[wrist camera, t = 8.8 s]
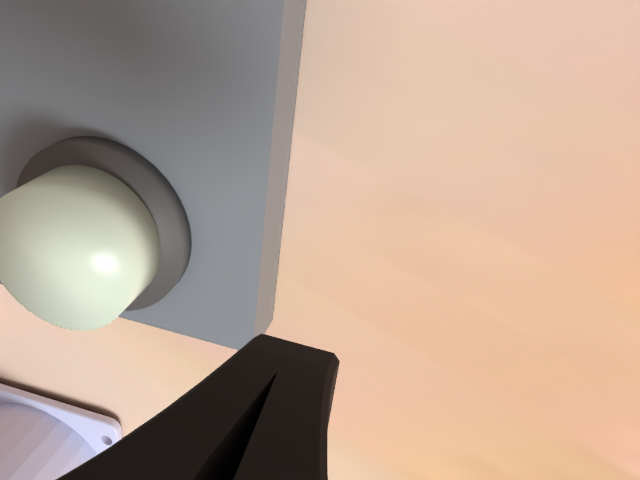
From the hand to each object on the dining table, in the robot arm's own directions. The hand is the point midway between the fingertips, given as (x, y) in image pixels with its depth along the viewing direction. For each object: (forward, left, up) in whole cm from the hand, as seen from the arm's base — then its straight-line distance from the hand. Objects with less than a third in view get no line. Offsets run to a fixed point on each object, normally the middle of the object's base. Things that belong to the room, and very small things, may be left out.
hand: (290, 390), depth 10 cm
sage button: (-2, +8, -7) cm, 11 cm away
